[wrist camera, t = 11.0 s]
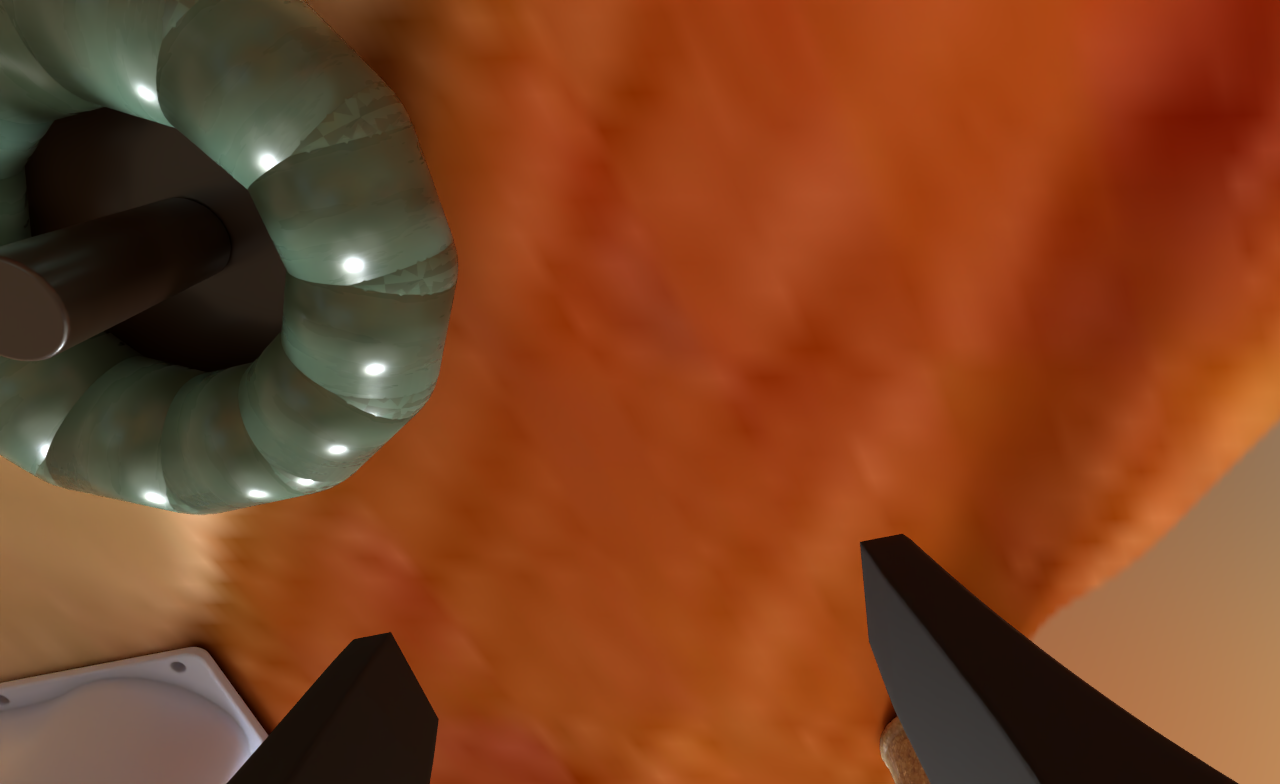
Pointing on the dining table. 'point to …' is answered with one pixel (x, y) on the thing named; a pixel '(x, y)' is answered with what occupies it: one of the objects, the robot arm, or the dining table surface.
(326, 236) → the ring
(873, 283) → the dining table surface
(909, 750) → the sprinkles bottle
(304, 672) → the dining table surface
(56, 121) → the holder
